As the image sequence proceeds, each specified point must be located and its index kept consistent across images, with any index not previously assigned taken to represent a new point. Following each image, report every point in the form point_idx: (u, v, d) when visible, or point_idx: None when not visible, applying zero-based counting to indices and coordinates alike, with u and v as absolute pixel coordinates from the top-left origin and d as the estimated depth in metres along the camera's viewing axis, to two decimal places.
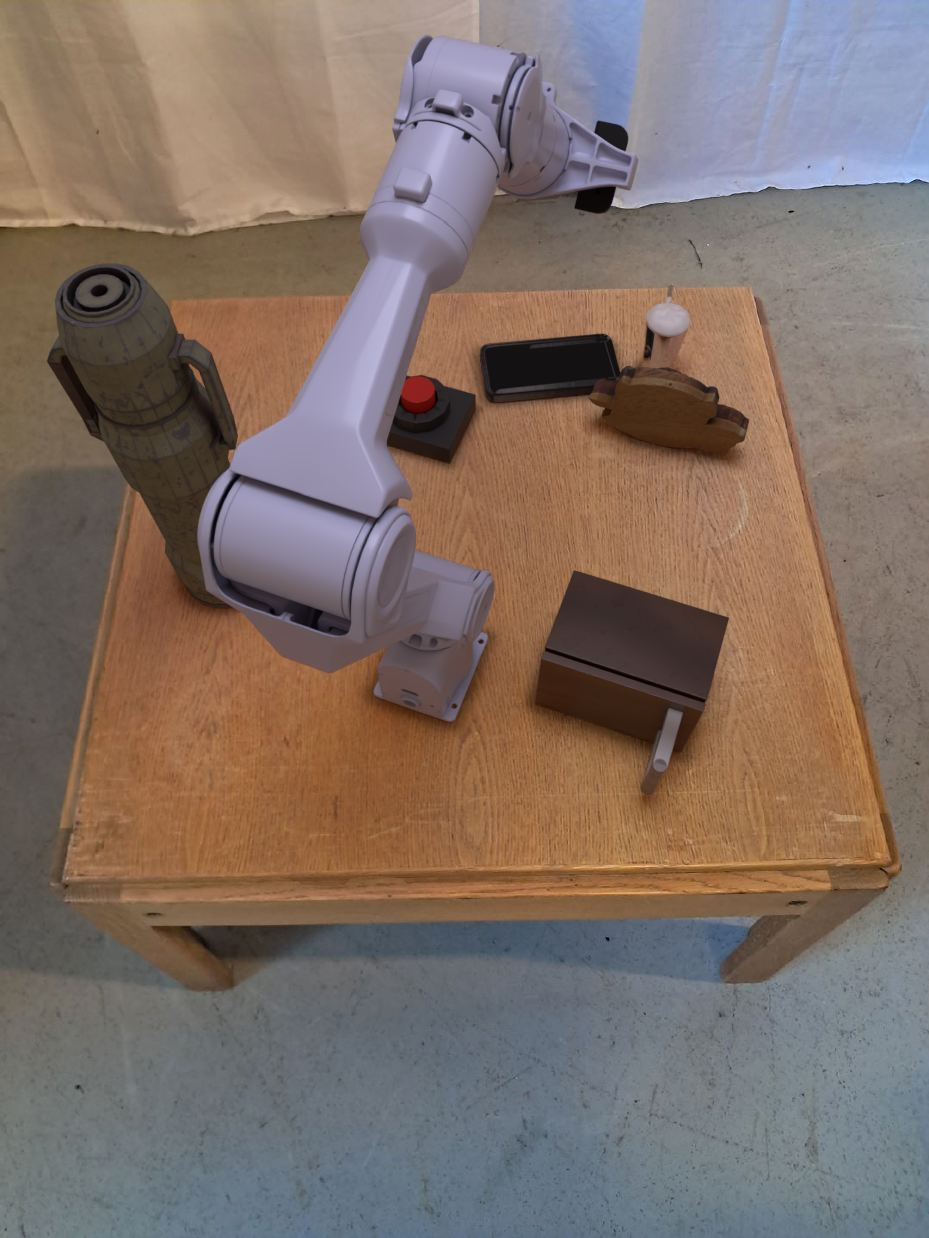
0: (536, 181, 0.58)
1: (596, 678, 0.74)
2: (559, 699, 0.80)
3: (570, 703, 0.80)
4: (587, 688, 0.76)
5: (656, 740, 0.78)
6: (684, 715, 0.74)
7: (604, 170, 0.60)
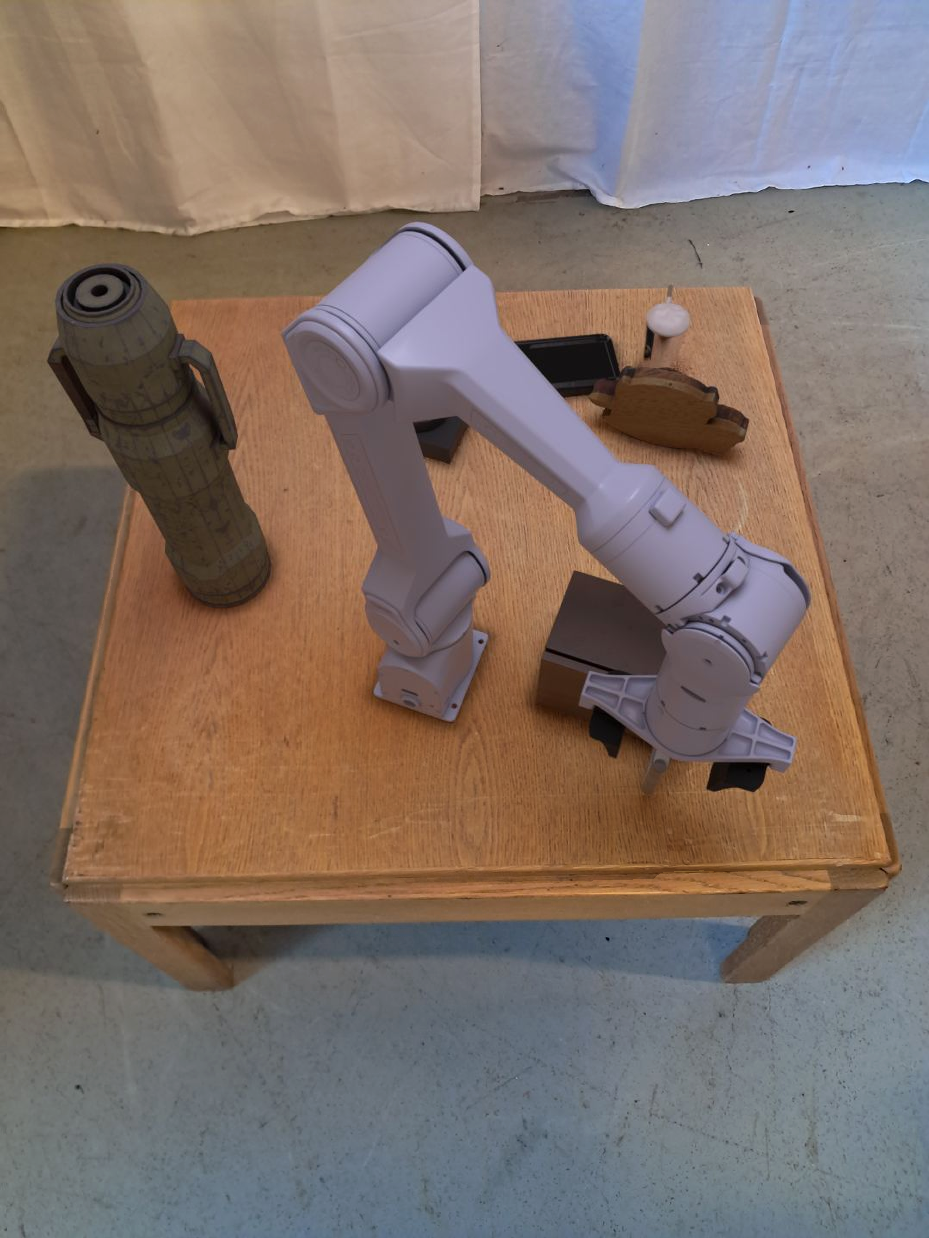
0: (719, 734, 0.58)
1: None
2: (559, 699, 0.80)
3: (570, 703, 0.80)
4: None
5: None
6: None
7: (765, 746, 0.61)
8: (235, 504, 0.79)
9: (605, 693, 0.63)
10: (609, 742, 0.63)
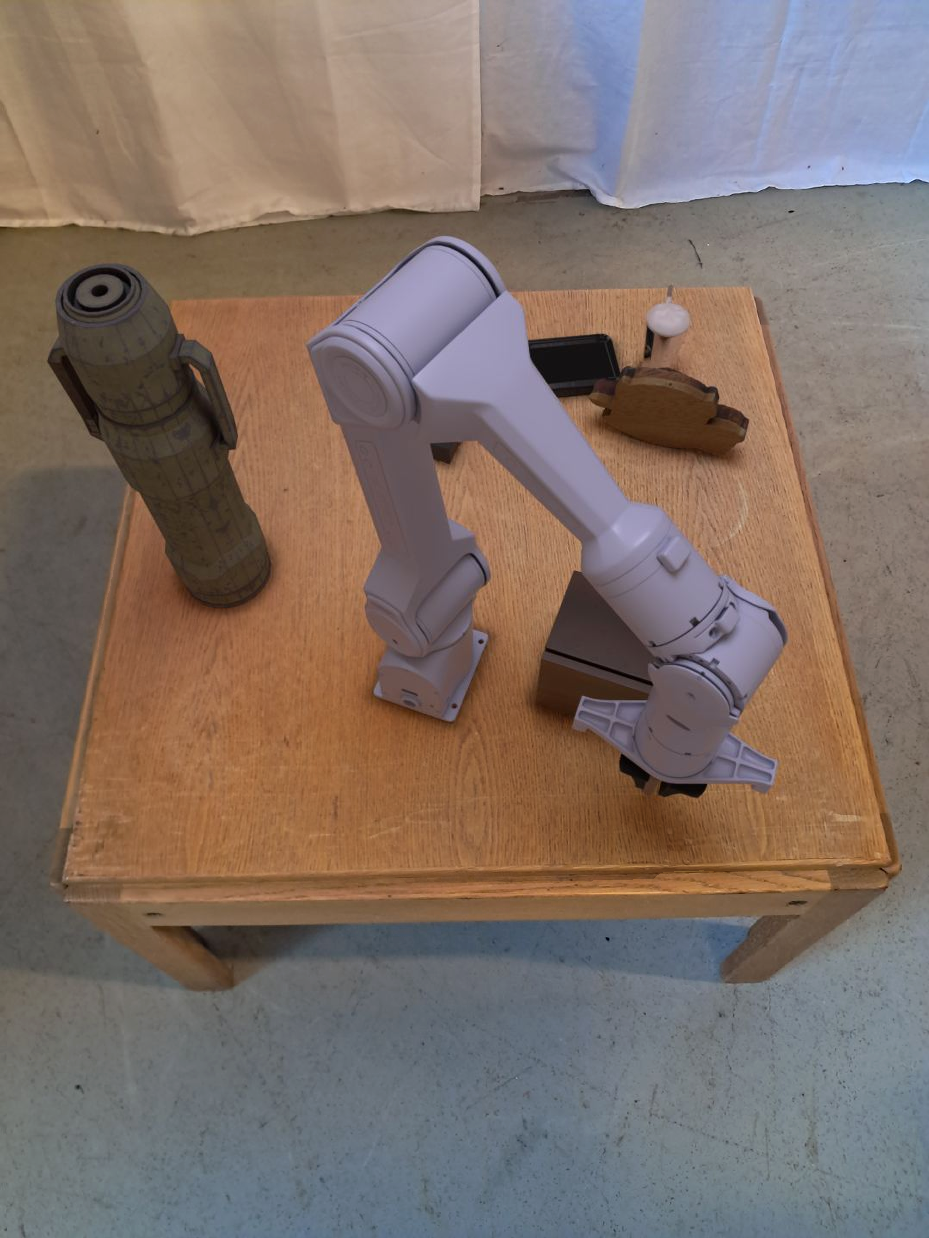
0: (704, 758, 0.61)
1: (596, 678, 0.74)
2: (559, 699, 0.80)
3: (570, 703, 0.80)
4: (587, 688, 0.76)
5: None
6: None
7: (748, 769, 0.64)
8: (235, 504, 0.79)
9: (597, 717, 0.66)
10: (639, 777, 0.66)
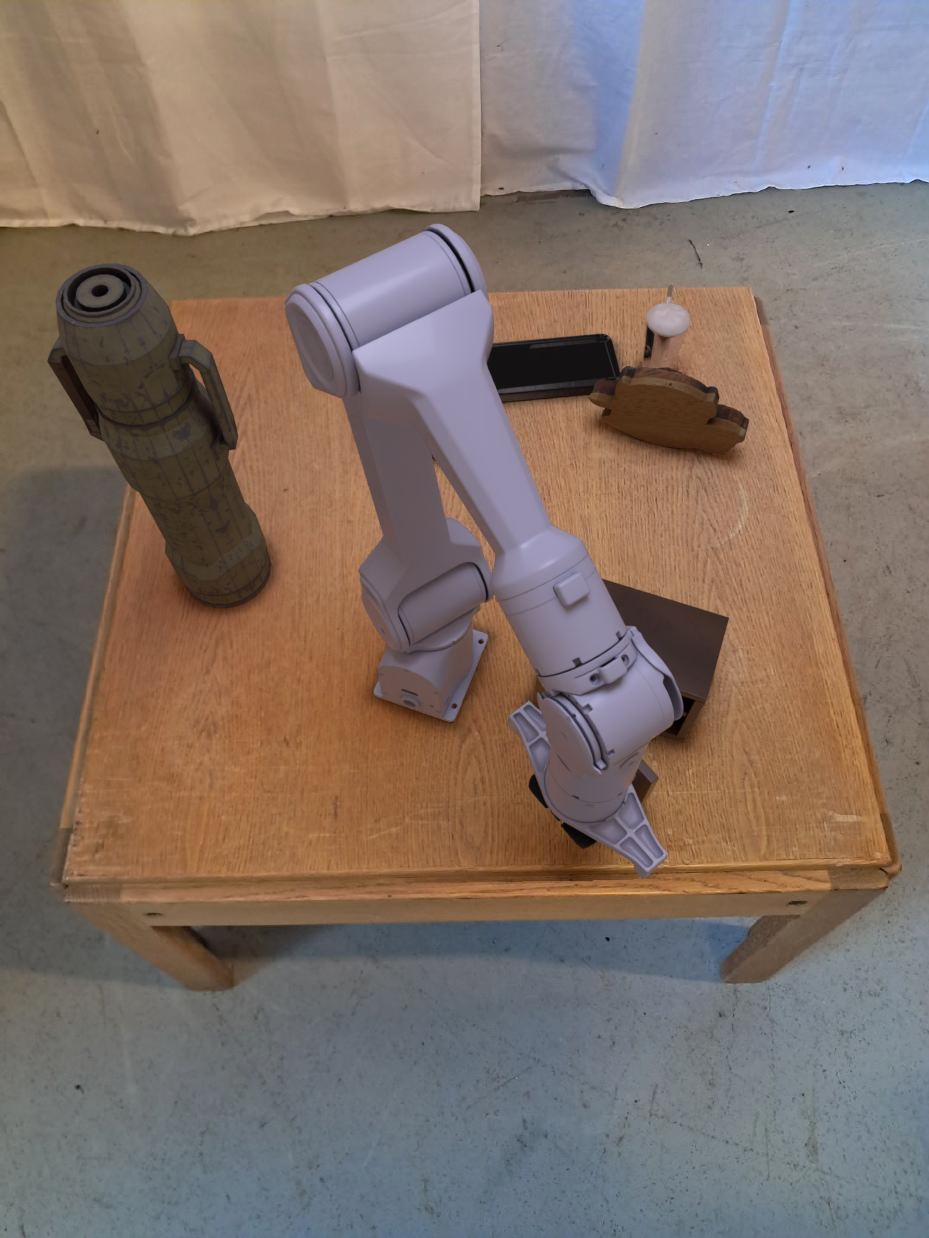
0: (586, 807, 0.60)
1: None
2: None
3: None
4: None
5: None
6: (637, 779, 0.71)
7: (635, 846, 0.62)
8: (235, 504, 0.79)
9: (530, 726, 0.66)
10: (539, 799, 0.66)
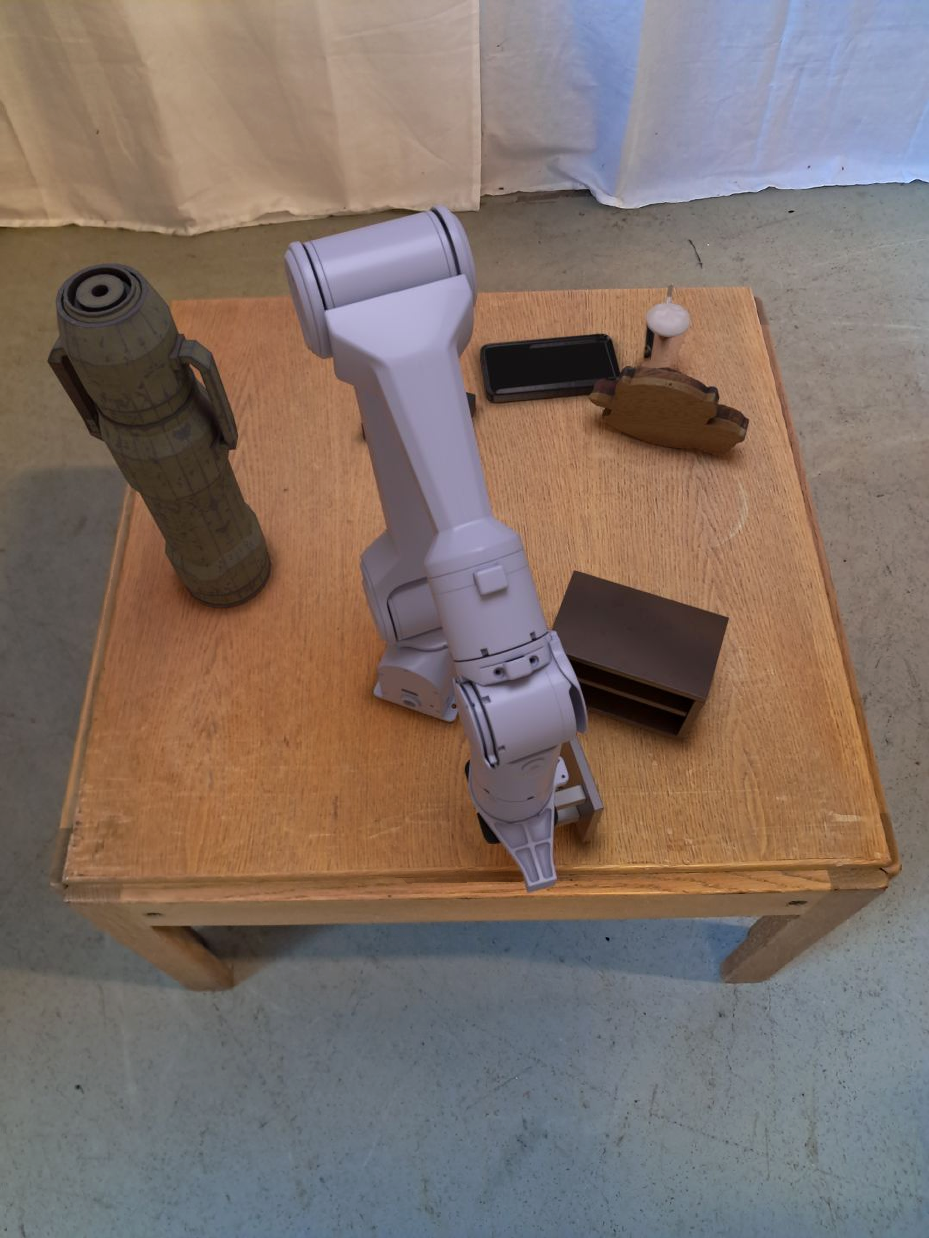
0: (491, 800, 0.60)
1: None
2: None
3: None
4: None
5: None
6: (586, 803, 0.71)
7: (530, 858, 0.61)
8: (236, 504, 0.79)
9: None
10: None
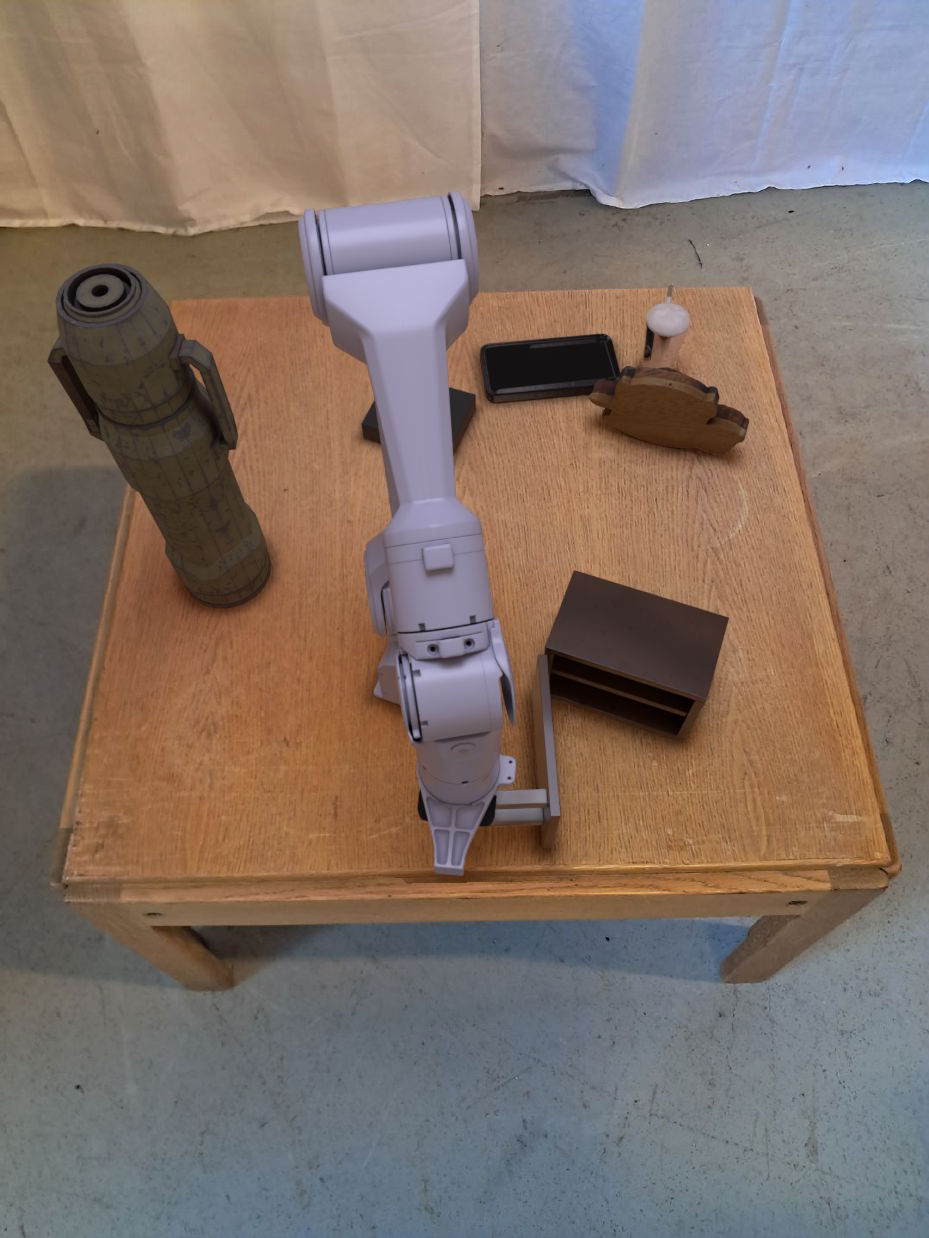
0: (424, 773, 0.61)
1: (541, 709, 0.73)
2: (534, 710, 0.80)
3: (535, 721, 0.79)
4: (539, 715, 0.75)
5: (530, 808, 0.75)
6: (547, 808, 0.70)
7: (447, 841, 0.62)
8: (236, 504, 0.79)
9: None
10: None
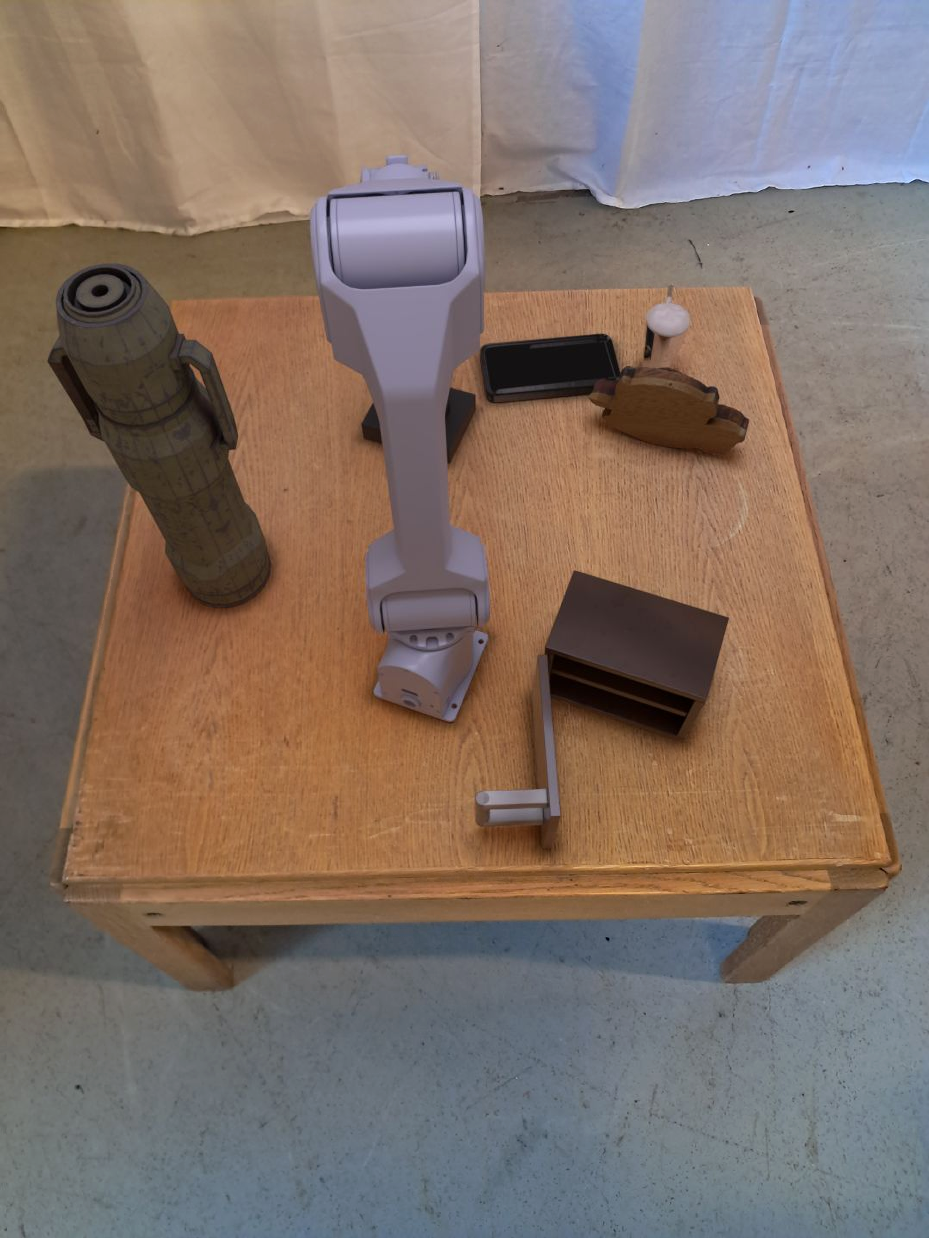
0: None
1: (541, 709, 0.73)
2: (534, 710, 0.80)
3: (535, 721, 0.79)
4: (539, 715, 0.75)
5: (530, 808, 0.75)
6: (547, 808, 0.70)
7: None
8: (236, 504, 0.79)
9: None
10: None
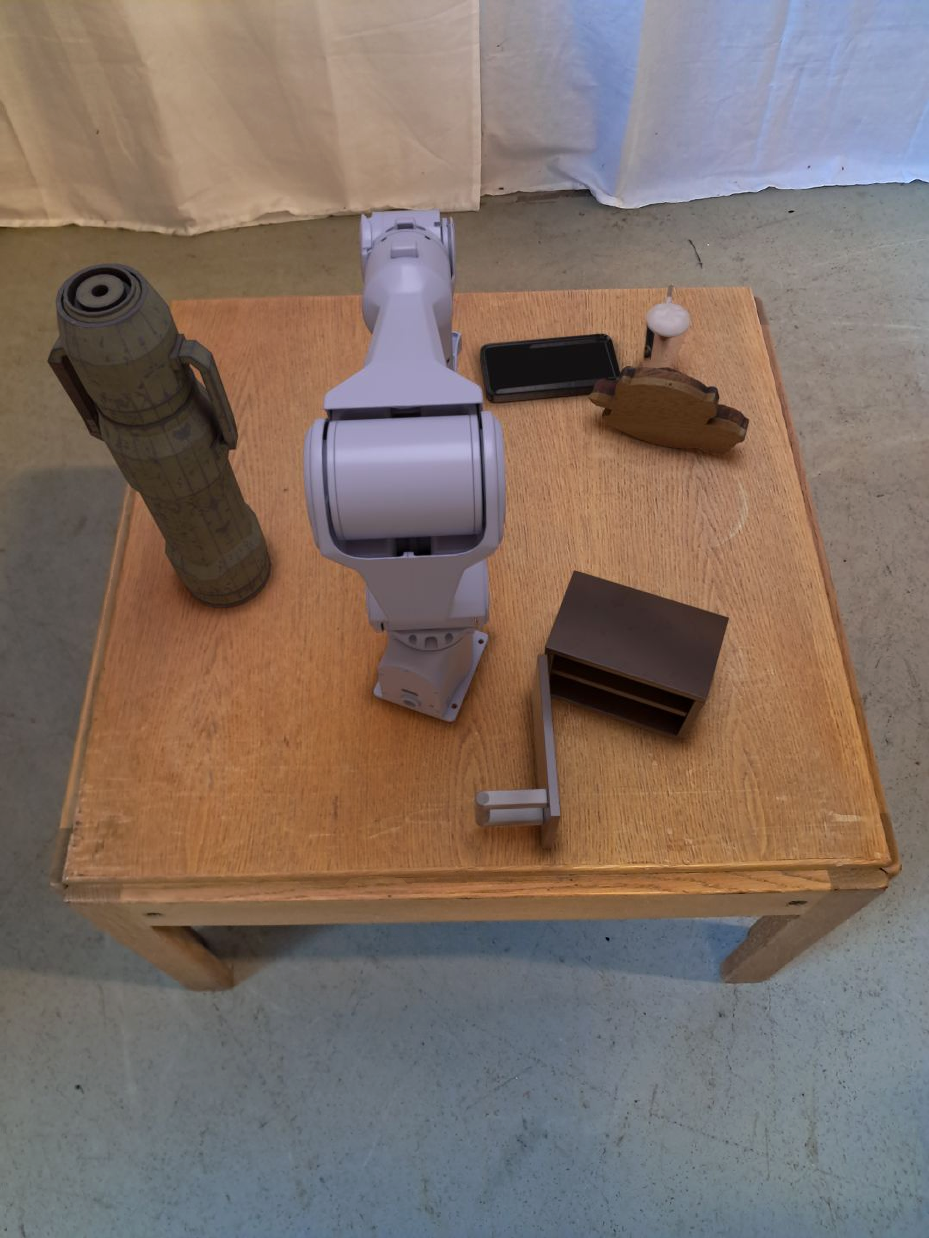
0: None
1: (541, 709, 0.73)
2: (534, 710, 0.80)
3: (535, 721, 0.79)
4: (539, 715, 0.75)
5: (530, 808, 0.75)
6: (547, 808, 0.70)
7: None
8: (236, 504, 0.79)
9: None
10: None
